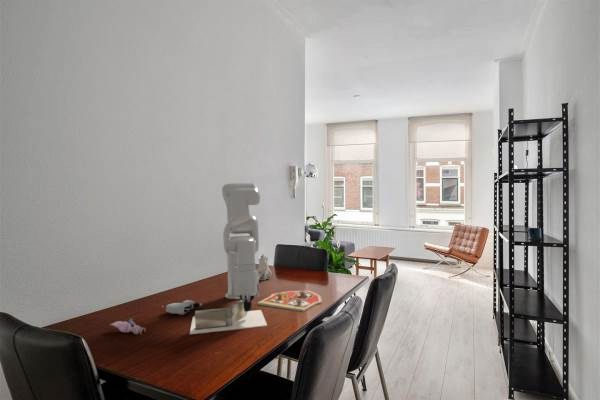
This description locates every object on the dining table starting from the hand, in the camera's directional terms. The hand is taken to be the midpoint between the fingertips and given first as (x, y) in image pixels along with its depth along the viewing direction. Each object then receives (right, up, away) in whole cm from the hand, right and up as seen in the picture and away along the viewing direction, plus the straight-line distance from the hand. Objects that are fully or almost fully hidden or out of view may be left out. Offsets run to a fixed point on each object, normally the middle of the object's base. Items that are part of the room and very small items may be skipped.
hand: (247, 310), depth 151 cm
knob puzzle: (+20, -4, +27) cm, 34 cm away
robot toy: (-32, -5, +13) cm, 35 cm away
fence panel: (-4, -3, -1) cm, 5 cm away
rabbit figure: (-46, -5, -11) cm, 48 cm away
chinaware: (-4, -4, +75) cm, 75 cm away
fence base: (-12, -4, -9) cm, 16 cm away
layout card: (-8, -4, -2) cm, 9 cm away
